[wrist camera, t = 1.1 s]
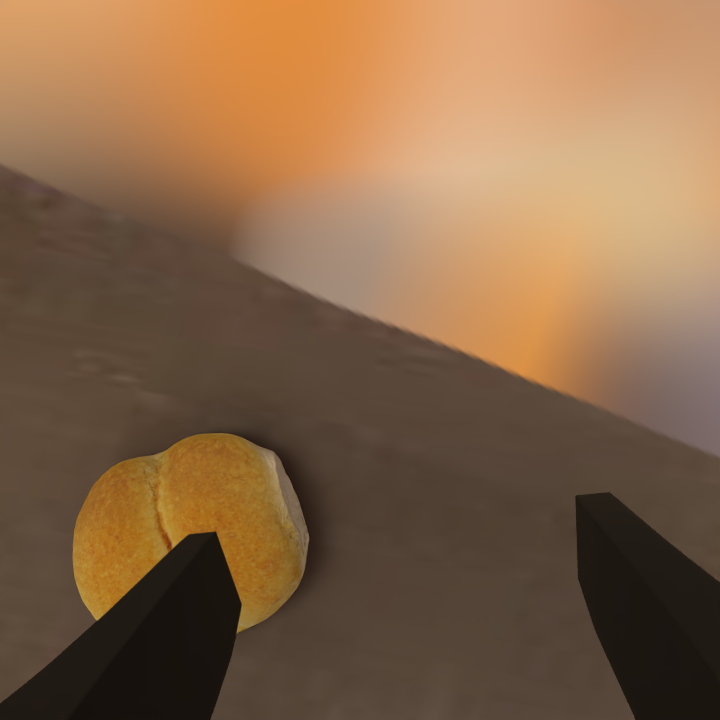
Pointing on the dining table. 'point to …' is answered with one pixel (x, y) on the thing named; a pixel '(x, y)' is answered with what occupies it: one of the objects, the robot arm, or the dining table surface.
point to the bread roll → (193, 522)
